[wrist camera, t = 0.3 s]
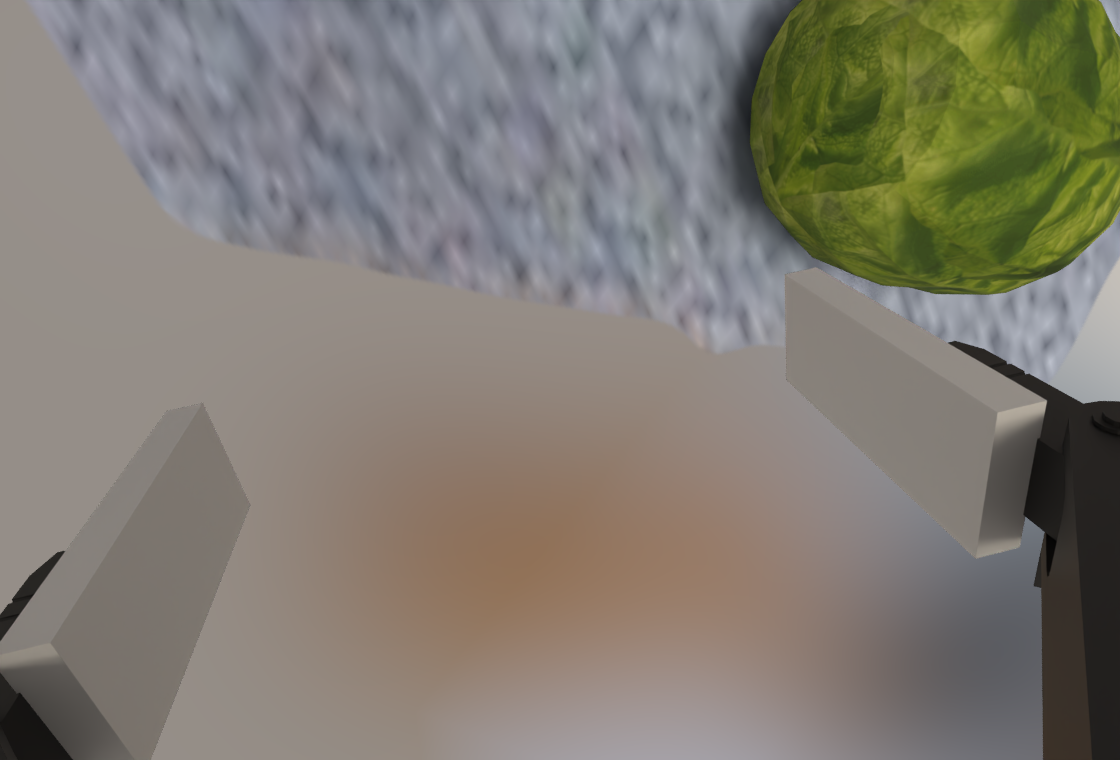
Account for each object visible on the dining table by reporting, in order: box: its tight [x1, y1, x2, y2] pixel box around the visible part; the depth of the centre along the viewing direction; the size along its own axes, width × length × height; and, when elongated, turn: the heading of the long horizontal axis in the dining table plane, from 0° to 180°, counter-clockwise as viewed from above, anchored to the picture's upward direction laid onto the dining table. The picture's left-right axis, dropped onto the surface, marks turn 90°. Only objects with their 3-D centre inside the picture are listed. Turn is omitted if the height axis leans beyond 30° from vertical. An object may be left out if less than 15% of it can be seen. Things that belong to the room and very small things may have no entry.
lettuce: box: [750, 0, 1120, 295], centre depth 37 cm, size 16×21×15 cm
